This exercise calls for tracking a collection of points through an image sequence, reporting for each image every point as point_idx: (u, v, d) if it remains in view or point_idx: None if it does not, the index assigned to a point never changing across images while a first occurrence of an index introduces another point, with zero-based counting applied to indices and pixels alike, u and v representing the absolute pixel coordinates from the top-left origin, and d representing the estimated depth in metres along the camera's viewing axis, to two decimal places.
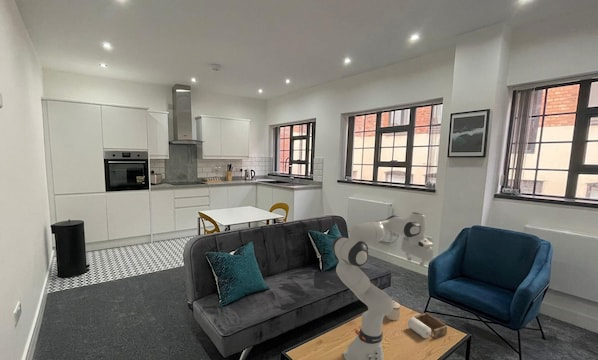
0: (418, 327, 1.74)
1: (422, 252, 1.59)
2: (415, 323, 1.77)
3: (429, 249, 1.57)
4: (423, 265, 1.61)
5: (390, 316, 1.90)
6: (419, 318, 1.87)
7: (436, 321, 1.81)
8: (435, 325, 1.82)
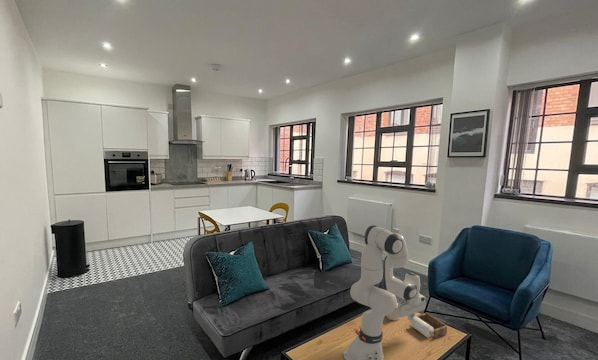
0: (423, 323, 1.76)
1: (420, 305, 1.73)
2: (420, 320, 1.79)
3: None
4: None
5: (390, 316, 1.90)
6: None
7: (436, 321, 1.81)
8: (435, 325, 1.82)
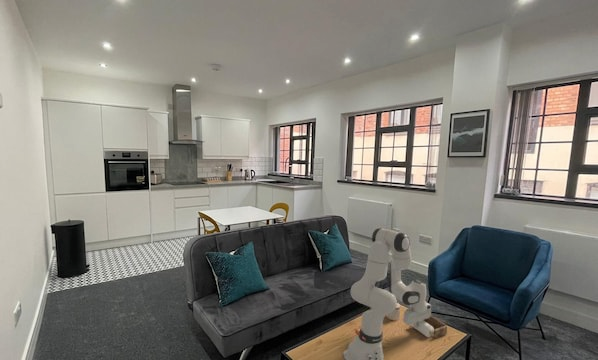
0: (423, 323, 1.76)
1: (426, 313, 1.76)
2: None
3: None
4: None
5: (390, 316, 1.90)
6: None
7: (436, 321, 1.81)
8: (435, 325, 1.82)
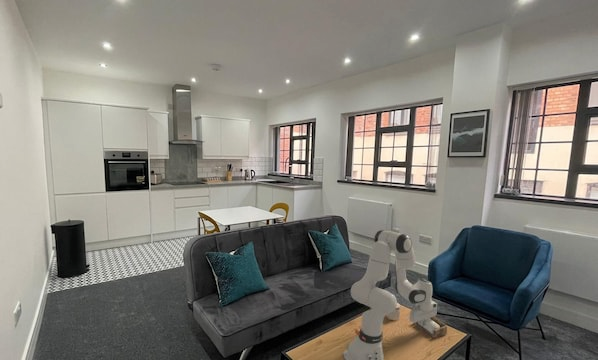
0: None
1: (432, 311, 1.78)
2: None
3: None
4: None
5: (390, 316, 1.90)
6: None
7: (436, 321, 1.81)
8: None
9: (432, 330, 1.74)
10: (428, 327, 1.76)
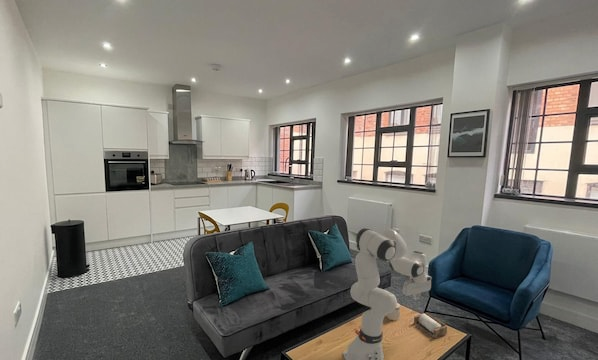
0: None
1: (426, 285, 1.74)
2: None
3: None
4: None
5: (390, 316, 1.90)
6: None
7: (436, 321, 1.81)
8: None
9: (434, 328, 1.75)
10: (430, 325, 1.77)
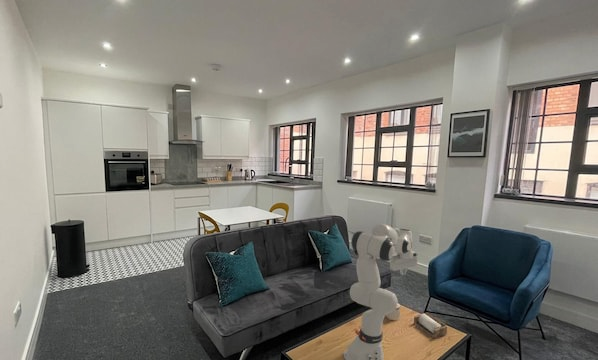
0: None
1: (412, 261, 1.82)
2: None
3: None
4: None
5: (390, 316, 1.90)
6: None
7: (436, 321, 1.81)
8: None
9: (434, 328, 1.75)
10: (430, 325, 1.77)
